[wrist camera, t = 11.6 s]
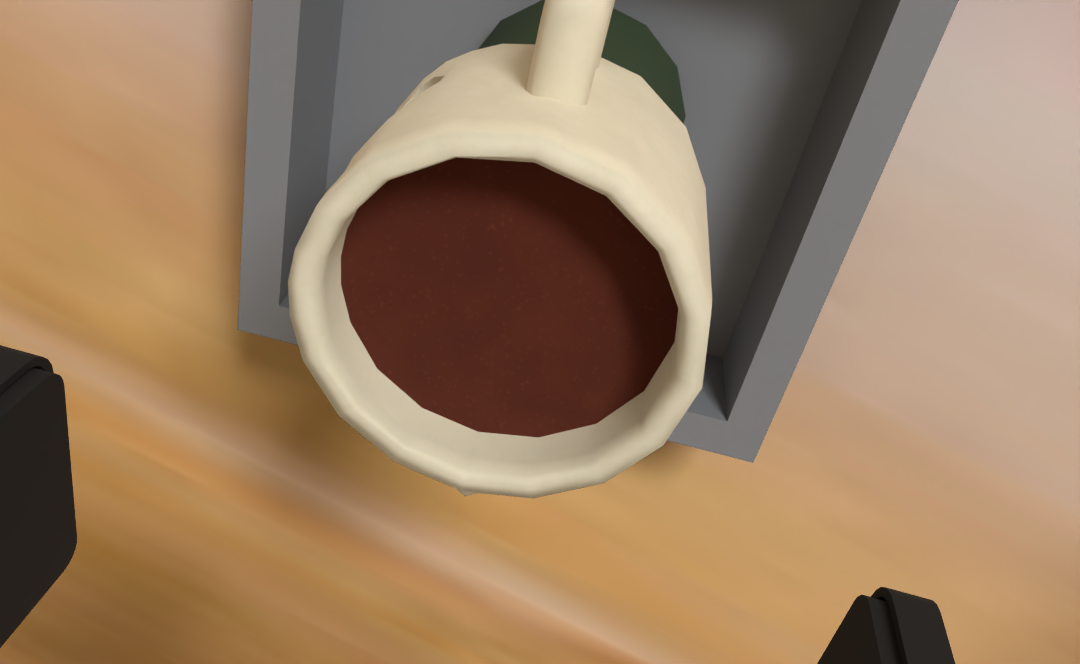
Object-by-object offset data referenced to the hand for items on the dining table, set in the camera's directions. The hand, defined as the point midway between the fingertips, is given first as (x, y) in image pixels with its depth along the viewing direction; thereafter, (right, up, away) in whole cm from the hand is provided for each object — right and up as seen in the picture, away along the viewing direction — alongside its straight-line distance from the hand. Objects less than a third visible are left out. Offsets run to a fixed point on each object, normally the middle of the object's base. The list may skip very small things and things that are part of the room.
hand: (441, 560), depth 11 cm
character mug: (+2, +9, +16) cm, 18 cm away
